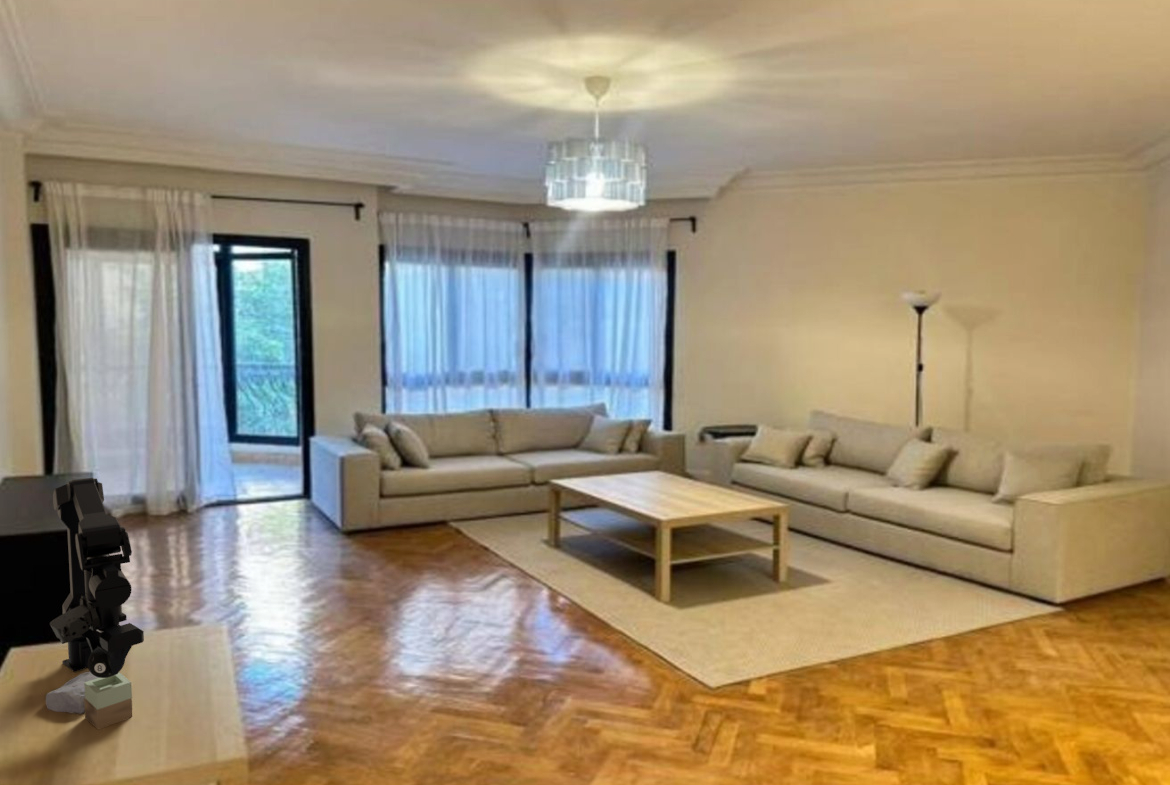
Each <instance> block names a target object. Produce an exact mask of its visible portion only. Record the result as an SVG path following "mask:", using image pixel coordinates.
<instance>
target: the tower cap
mask: <svg viewBox="0 0 1170 785" xmlns="http://www.w3.org/2000/svg"><path fill="white" fill-rule="evenodd" d="M123 675H124V674H122V673H121V671H119V673H118V674H116V675H114V676H111V677H108V678H97V679H94V680H91V681H88V682H84V685H85V699H86V700H87V701H89V702H90V703H91V704H92V705H93V706H94V707H95V708H96V709H97V710H98V709H101V708H104V707H107V706H110V705H113V704H116V703H119V702H122V701H125V700H127V699H130V698H132V699H133V692H132V691H133V690H132V689H133V688H132V681H130V680H129V679H128V678H127V677H126V676H123Z"/></svg>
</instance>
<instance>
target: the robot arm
mask: <svg viewBox="0 0 1170 785" xmlns="http://www.w3.org/2000/svg"><path fill="white" fill-rule="evenodd" d="M104 496H105V495H104V489H103V483H102V482H99V481H98V478H96V477H95V478H94V477H88V478H87V477H86V478H78V479H77V478H76V479H72V480H70V481H67V483H65V484H64V485H61V486H58V487H57V488H54V490H53V493H52V503H53V504H52V505H53V509H54V511H57V516H58V517H59V519H60V520H61V522H62V523H63V524H64V525H65V527H66V529H67V532H66V533H67V546H68V564H69V565H68V566H69V567H68V569H69V584H70V585H69V588H70V593H69V594H68V595H67V597H66V599H64V602H63V603H62V614H60V615H59V616H57V617H56V618H54V619H52V620H51V621H50V622H49V626H50V627H51V629H52V631H53V633H54V635H55V636H56V638H57V639H59V640H60V642H61V644H62V645H64V644H67V652H68V658H67V659H63V660H62V664H63V665H64V666H65V667H66V668H68V669H69V670H71V671H72V672H73V673H74V672H75V673H76V672H79V671H82V670H85V669H89V668H88V659H89V656H90V654H91V653H92V652H93V650H95V649H96V648H97V647H99V648H100V649H102V650H103V651H105V652H106V655H107V660H108V665H109V669H110V673H111V675H112V676H113V675H116V674H118V673H119V672H121V670H122V669H121V666H122V664H123V662H124V660H125V661H126V658H127V656H128V654H129V653H130V651H131V649H132V648H133V646H135V645H136V646H137V645H139V644H143V642H144V641H145V638H144V637H145V633H144V630H142V629H141V628H139V627H138V626H136V625H135V624H132V623H130V622H128V623H125V624H120V623H121V622H125V621H127V614H126V613H123V605H124V604H125V603H126V602H127V601H128V600H129V599H130V597H131V594H132V585H131V583H130V581H129V580H128V578H127V576H125V574H124V573H123V571H122V564H127V563H131V559H130V556H132V553H133V550H132V547H131V541H130V539H129V533H128V531H126V528H125V527H124V526H121V524H120V522H119V520H118V518H117V517H116V516H113V515H109V514H108V513H107V511H106V509H105V506H104V501H105V497H104ZM121 551H122V553H121ZM120 669H121V670H120Z"/></svg>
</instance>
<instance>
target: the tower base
mask: <svg viewBox="0 0 1170 785" xmlns="http://www.w3.org/2000/svg"><path fill="white" fill-rule="evenodd" d="M132 699H133V697H132V698H130V699H127V700H125V701H122V702H119V703H116V704H113V705H110V706H107V707H104V708H101V709H98V710H97V709H96V708H95V707H94V706H93V705H92V704H91V703H90V702H89V701H87V700H86V699H84V707H85V713H84V719H86V720H87V721H88V722H89V723H90V724H91V725H93V726H94V727H95V728H96V729H97V730H100V729H104V728H106V727H108V726H111V725H114V724H117V723H119V722H122V721H125V720H128V719H131V718H133V703H132V702H133V700H132Z"/></svg>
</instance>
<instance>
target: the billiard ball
mask: <svg viewBox="0 0 1170 785" xmlns="http://www.w3.org/2000/svg"><path fill="white" fill-rule="evenodd" d="M125 663H126V659H125V660H124V662H123V664H122V666H121V669H120V671H121V670H122V669H123V667H124V665H125ZM87 669H88V672H91V673H92V674H93V675H94V676H96V677H99V678H108V677H111V676H112V675H111V673H110V669H109V665H108V660H107V655H106V652H105V651H103V650H102V649H100V648H99V647H97V648H96V649H95V650H93V652H92V653H91V654H90V656H89V659H88V668H87ZM113 676H114V675H113Z"/></svg>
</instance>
